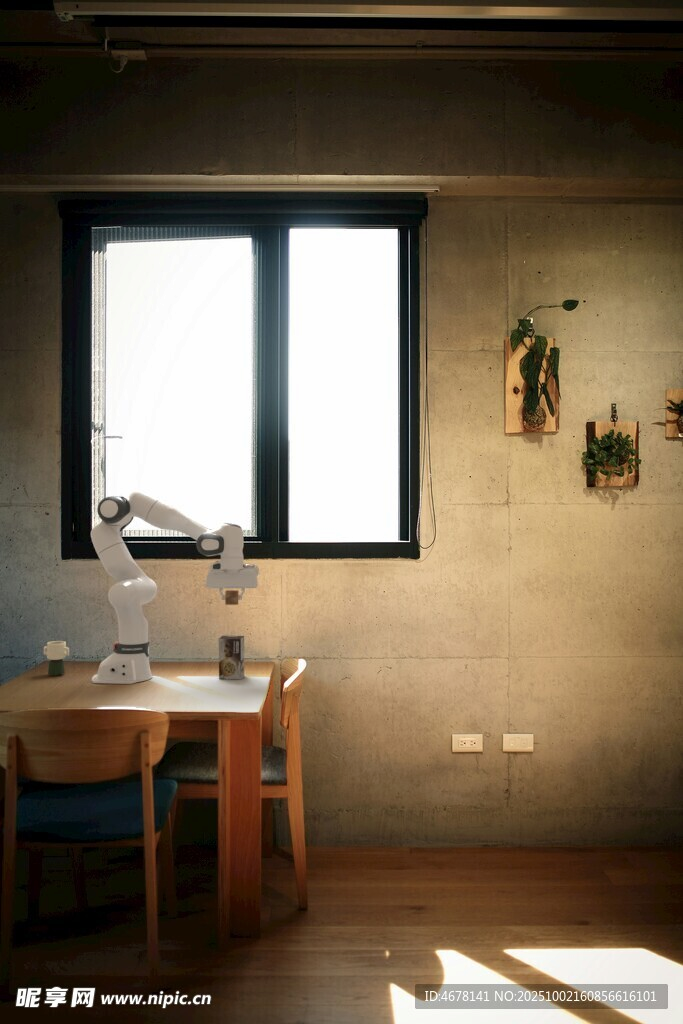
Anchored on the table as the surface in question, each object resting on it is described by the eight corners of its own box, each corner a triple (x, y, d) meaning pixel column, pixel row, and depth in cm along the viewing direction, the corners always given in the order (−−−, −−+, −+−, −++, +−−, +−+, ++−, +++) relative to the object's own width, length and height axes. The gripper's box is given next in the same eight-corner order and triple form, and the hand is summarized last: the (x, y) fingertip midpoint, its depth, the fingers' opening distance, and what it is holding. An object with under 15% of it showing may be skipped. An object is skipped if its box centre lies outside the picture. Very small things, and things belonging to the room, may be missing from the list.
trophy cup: (73, 673, 303) (73, 641, 303) (64, 677, 296) (64, 644, 296) (48, 672, 305) (48, 640, 305) (38, 676, 298) (38, 643, 298)
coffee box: (244, 676, 301) (245, 635, 301) (241, 679, 295) (241, 638, 295) (222, 675, 302) (222, 635, 302) (218, 679, 296) (218, 637, 295)
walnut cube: (225, 604, 295) (225, 591, 295) (225, 603, 300) (225, 590, 300) (238, 604, 296) (238, 591, 296) (238, 602, 301) (238, 590, 301)
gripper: (258, 563, 302) (258, 598, 302) (206, 564, 300) (206, 598, 300) (258, 565, 296) (258, 600, 296) (205, 565, 293) (205, 600, 294)
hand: (231, 599), depth 298 cm, fingers closed on walnut cube, 5 cm apart
